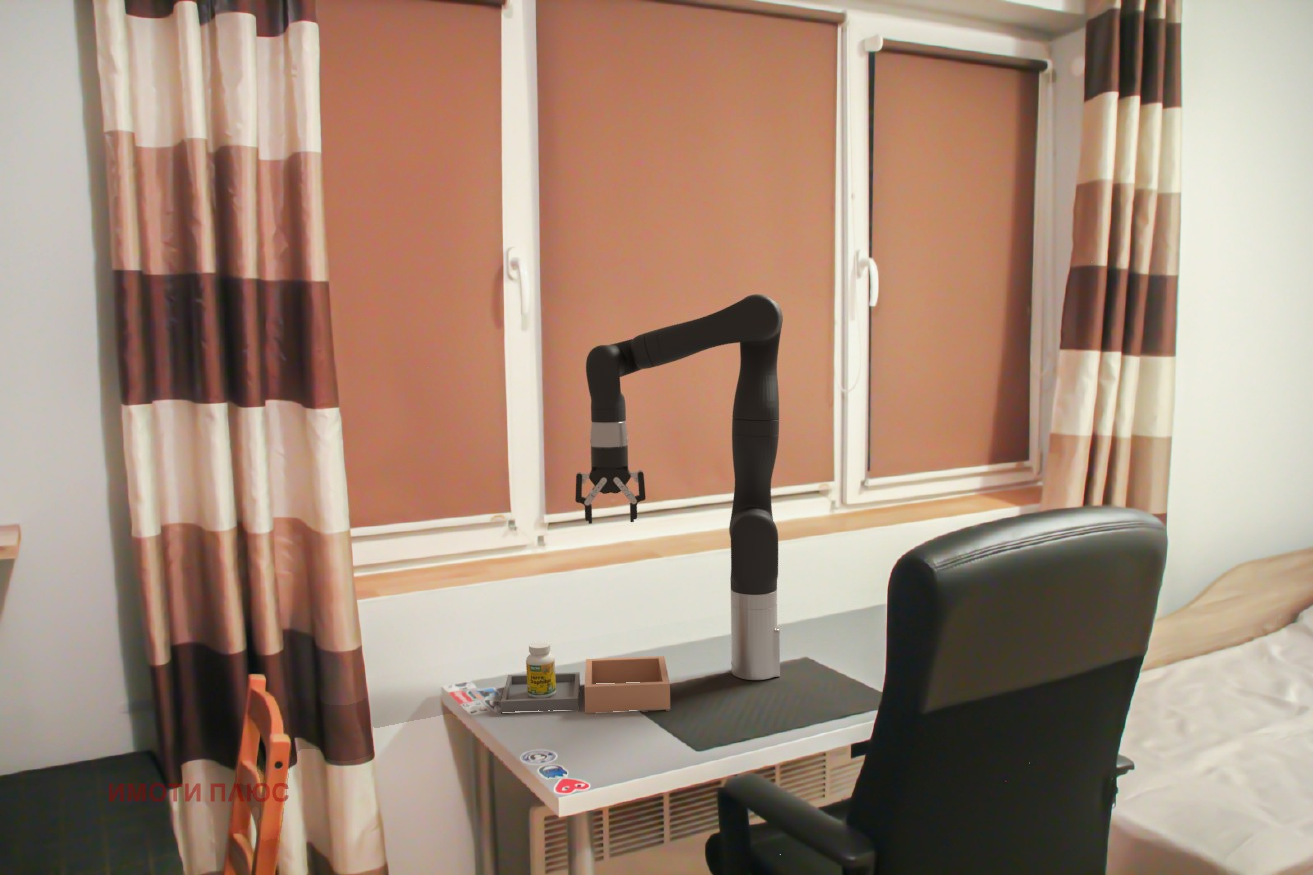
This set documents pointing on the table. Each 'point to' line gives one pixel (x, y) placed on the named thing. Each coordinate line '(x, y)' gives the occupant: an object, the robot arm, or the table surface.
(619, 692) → the box
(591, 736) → the table surface
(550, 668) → the supplement bottle
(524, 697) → the tray
